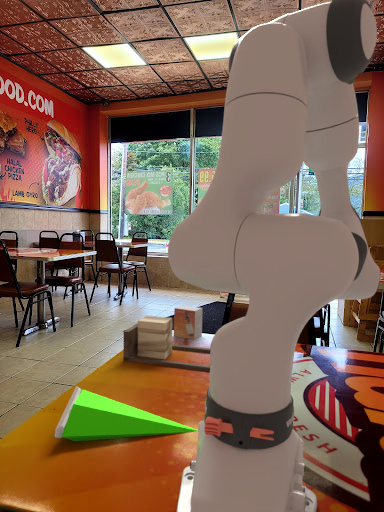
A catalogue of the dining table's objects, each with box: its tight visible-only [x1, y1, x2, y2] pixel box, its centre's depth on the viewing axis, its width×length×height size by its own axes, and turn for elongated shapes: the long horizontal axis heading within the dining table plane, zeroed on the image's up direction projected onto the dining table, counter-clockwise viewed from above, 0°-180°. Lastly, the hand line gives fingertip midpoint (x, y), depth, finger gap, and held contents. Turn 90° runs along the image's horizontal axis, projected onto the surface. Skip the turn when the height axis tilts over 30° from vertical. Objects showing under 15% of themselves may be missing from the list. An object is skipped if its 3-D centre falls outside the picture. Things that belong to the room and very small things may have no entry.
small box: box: [173, 305, 203, 340], centre depth 119 cm, size 8×6×10 cm
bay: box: [123, 322, 210, 372], centre depth 100 cm, size 14×24×9 cm, turn 74°
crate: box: [137, 315, 174, 360], centre depth 101 cm, size 6×8×10 cm
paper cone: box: [54, 386, 198, 442], centre depth 65 cm, size 11×5×25 cm
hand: (241, 274), depth 87 cm, fingers closed
